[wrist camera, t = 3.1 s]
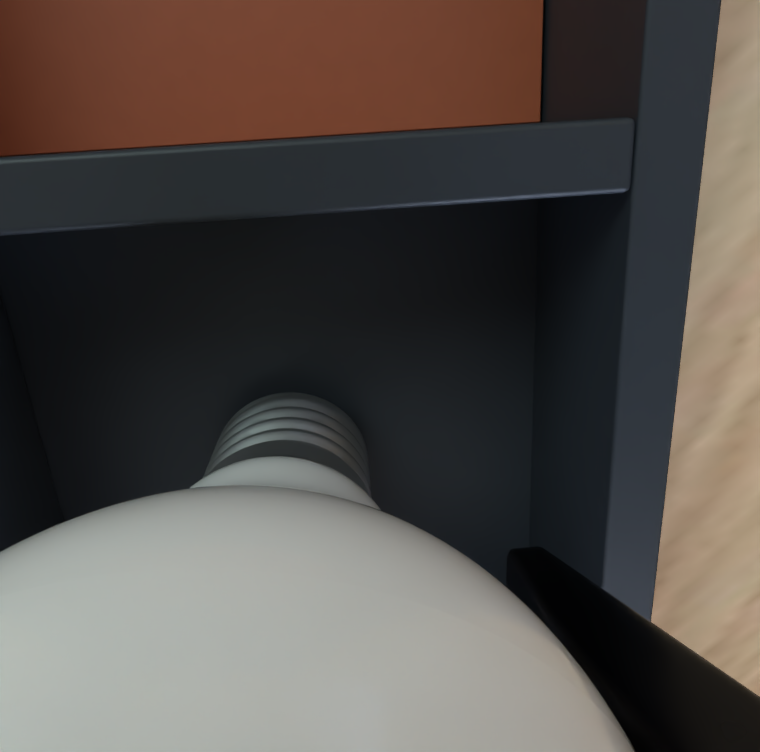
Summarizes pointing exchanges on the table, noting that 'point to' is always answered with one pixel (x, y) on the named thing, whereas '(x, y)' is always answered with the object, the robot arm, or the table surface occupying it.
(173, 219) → the tray
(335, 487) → the lightbulb
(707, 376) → the table surface
